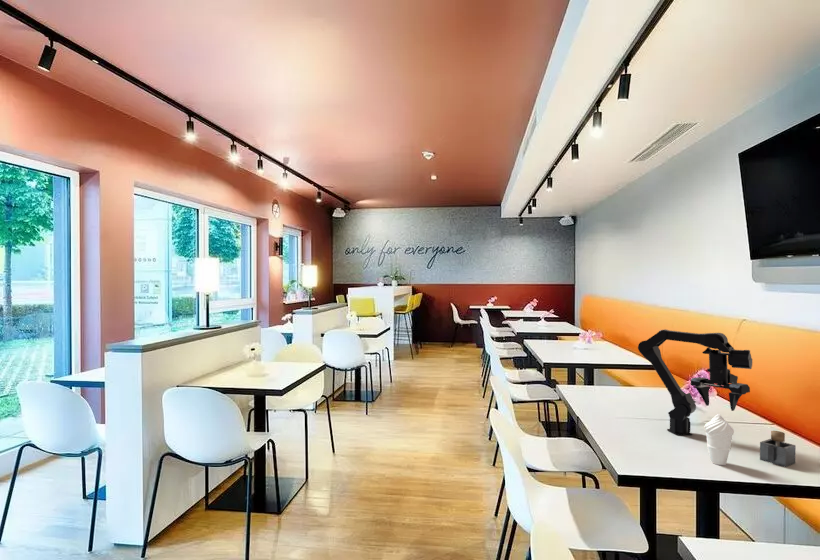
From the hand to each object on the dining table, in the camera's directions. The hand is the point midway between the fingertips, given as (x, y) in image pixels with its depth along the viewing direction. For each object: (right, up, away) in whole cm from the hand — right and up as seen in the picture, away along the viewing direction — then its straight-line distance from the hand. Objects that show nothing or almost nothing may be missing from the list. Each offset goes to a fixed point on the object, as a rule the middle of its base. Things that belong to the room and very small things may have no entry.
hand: (719, 408), depth 175 cm
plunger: (+7, -11, -19) cm, 22 cm away
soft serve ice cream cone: (-14, -13, -21) cm, 28 cm away
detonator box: (+7, -13, -19) cm, 24 cm away
